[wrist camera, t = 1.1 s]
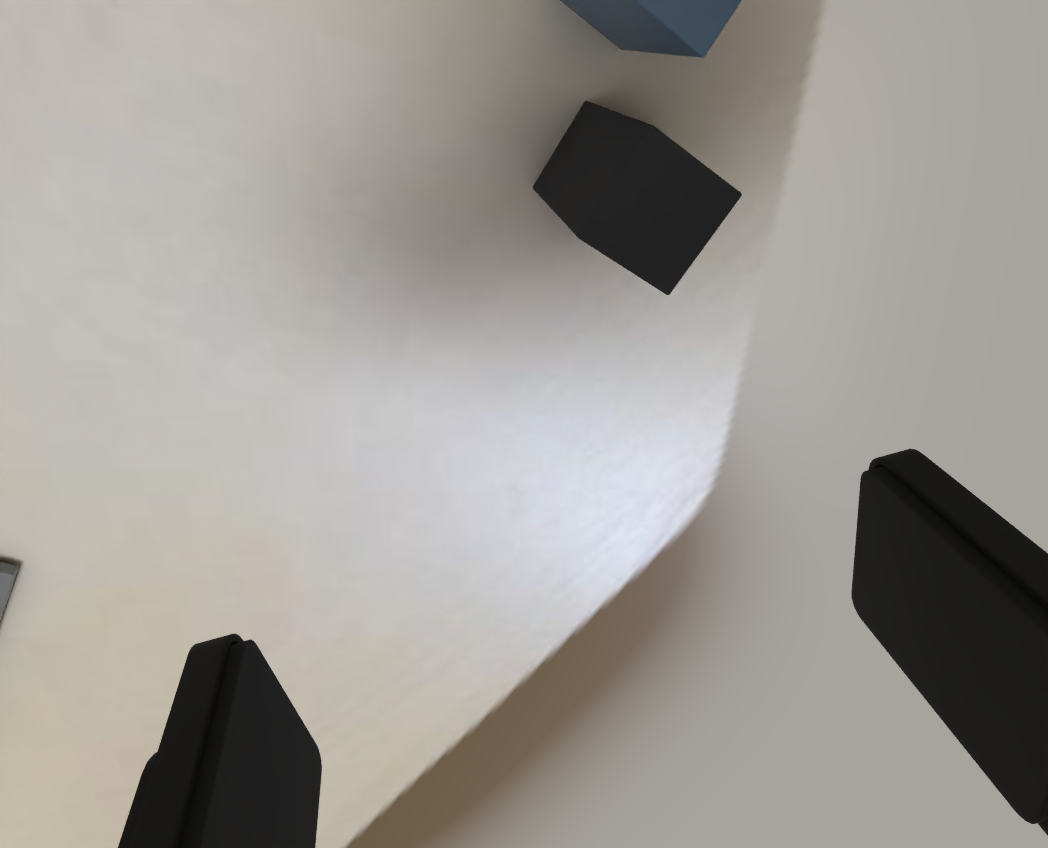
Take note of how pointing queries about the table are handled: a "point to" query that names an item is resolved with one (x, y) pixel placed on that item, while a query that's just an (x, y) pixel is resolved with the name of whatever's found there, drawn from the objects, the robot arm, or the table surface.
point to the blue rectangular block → (658, 23)
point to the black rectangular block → (634, 194)
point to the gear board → (6, 583)
